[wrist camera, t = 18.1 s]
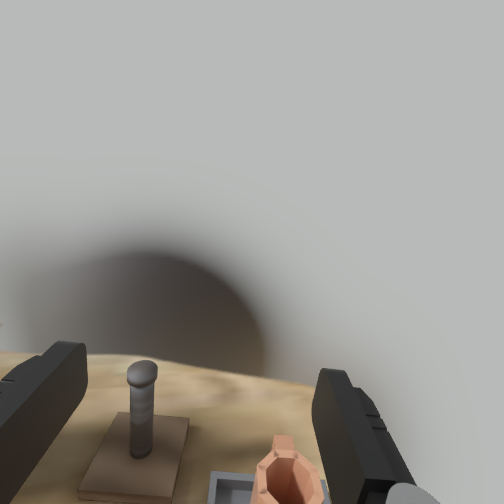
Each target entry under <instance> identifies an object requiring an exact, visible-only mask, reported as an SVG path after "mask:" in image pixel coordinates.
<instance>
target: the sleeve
mask: <svg viewBox="0 0 504 504" xmlns="http://www.w3.org/2000/svg"><path fill="white" fill-rule="evenodd" d="M323 502H324V494H323V490H322V486H321V481H320V477H319V473H318V469H316V468H315V467H314V466H313V465H312V464H311V463H310V462H309V461H308V460H307V459H305V458H304V457H303V456H302V455H301V454H300V453H299V452H298V451H295V450H294V444H293V438H292V436H284V435H274V439H273V444H272V449H271V452H270V453H269V454H268V455H267V456H266V457H265V458H264V459H263V460H262V461H261V462H260V463H259V464H258V465H257V468H256V474H255V479H254V485H253V490H252V496H251V501H250V504H323Z"/></svg>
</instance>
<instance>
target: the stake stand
mask: <svg viewBox="0 0 504 504" xmlns="http://www.w3.org/2000/svg"><path fill="white" fill-rule="evenodd" d="M157 371H158V367H157V365H156V364H155V363H154V362H152V361H149V360H142V361H138V362H135V363H133V364H132V365H131V366H130V367H129V368H128V370H127V382H128V384H129V385H130V413H126V412H118V414H117V415H116V417H115V419H114V421H113V423H112V425H111V427H110V429H109V431H108V432H107V434H106V436H105V438H104V440H103V442H102V444H101V446H100V448H99V450H98V451H97V453H96V455H95V457H94V459H93V461H92V463H91V465H90V467H89V469H88V470H87V472H86V474H85V476H84V478H83V480H82V482H81V484H80V486H79V488H78V489H77V491H78V499H81V500H94V501H107V502H120V503H134V504H171V501H172V497H173V493H174V488H175V484H176V480H177V475H178V471H179V467H180V462H181V458H182V454H183V449H184V445H185V440H186V436H187V432H188V427H189V418H182V417H171V416H160V415H153V410H154V382H155V380H156V379H157Z"/></svg>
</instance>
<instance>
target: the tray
mask: <svg viewBox="0 0 504 504" xmlns="http://www.w3.org/2000/svg"><path fill="white" fill-rule="evenodd" d="M254 479H255V474H245V473H233V472H221V471H211V476H210V484H209V492H208V500H207V504H250V501H251V496H252V490H253V485H254ZM320 481H321V486H322V490H323V494H324V502H323V504H331V503H330V499H329V495H328V491H327V487H326V483H325V480H320Z"/></svg>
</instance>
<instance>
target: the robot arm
mask: <svg viewBox="0 0 504 504" xmlns="http://www.w3.org/2000/svg"><path fill="white" fill-rule="evenodd" d="M87 384H88V373H87V354H86V346H85V344H84V343H76V342H67V341H58V342H56V343H55V344H54V345H52V346H51V347H50V348H49V349H48V350H47V351H46V352H45V353H44V354H43V355H42V356H38V355H36V356H34V357H32V358H30V359H28V360H27V361H25V362H23V363H21V364H19V365H17V366H16V367H15V368H14V369H13V370H11V371H10V372H9V373H8V374H7V375H6V376H5V377H3V378H2V379H1V382H0V504H9V503H10V502H11V501H12V499H13V498H14V496H15V495H16V493H17V492H18V491H19V489H20V488H21V486H22V485H23V483H24V482H25V481H26V479H27V478H28V476H29V475H30V473H31V472H32V471H33V469H34V468H35V466H36V465H37V464H38V462H39V461H40V459H41V458H42V456H43V455H44V454H45V452H46V451H47V449H48V448H49V446H50V445H51V444H52V442H53V441H54V439H55V438H56V436H57V435H58V434H59V432H60V431H61V429H62V428H63V426H64V425H65V424H66V422H67V421H68V419H69V418H70V416H71V415H72V414H73V412H74V411H75V409H76V408H77V407H78V405H79V404H80V402H81V401H82V399H83V397H84V395H85V392H86V389H87ZM312 422H313V427H314V431H315V435H316V439H317V443H318V447H319V451H320V455H321V459H322V463H323V467H324V471H325V475H326V479H327V483H328V488H329V492H330V496H331V500H332V504H440V503H439V502H438V501H437V500H436V499H435V498H434V497H433V496H431V495H430V494H428V493H427V492H426V491H425V490H423V489H421V488H419V487H417V485H416V484H415V481H414V479H413V478H412V476H411V474H410V472H409V470H408V468H407V466H406V464H405V462H404V460H403V458H402V456H401V455H400V453H399V451H398V449H397V447H396V445H395V443H394V441H393V439H392V437H391V435H390V433H389V432H387V428H386V426H385V424H384V422H383V420H382V419H381V418H380V414H379V412H378V410H377V408H376V407H375V405H374V403H373V401H372V400H371V399H370V398H369V397H368V396H367V395H366V394H365V393H364V391H363V390H362V389H361V388H356V387H355V388H354V387H353V386H352V384H351V382H350V380H349V378H348V376H347V373H346V372H345V371H344V370H336V369H327V368H322V369H321V370H320V373H319V377H318V381H317V386H316V390H315V394H314V398H313V402H312Z"/></svg>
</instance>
